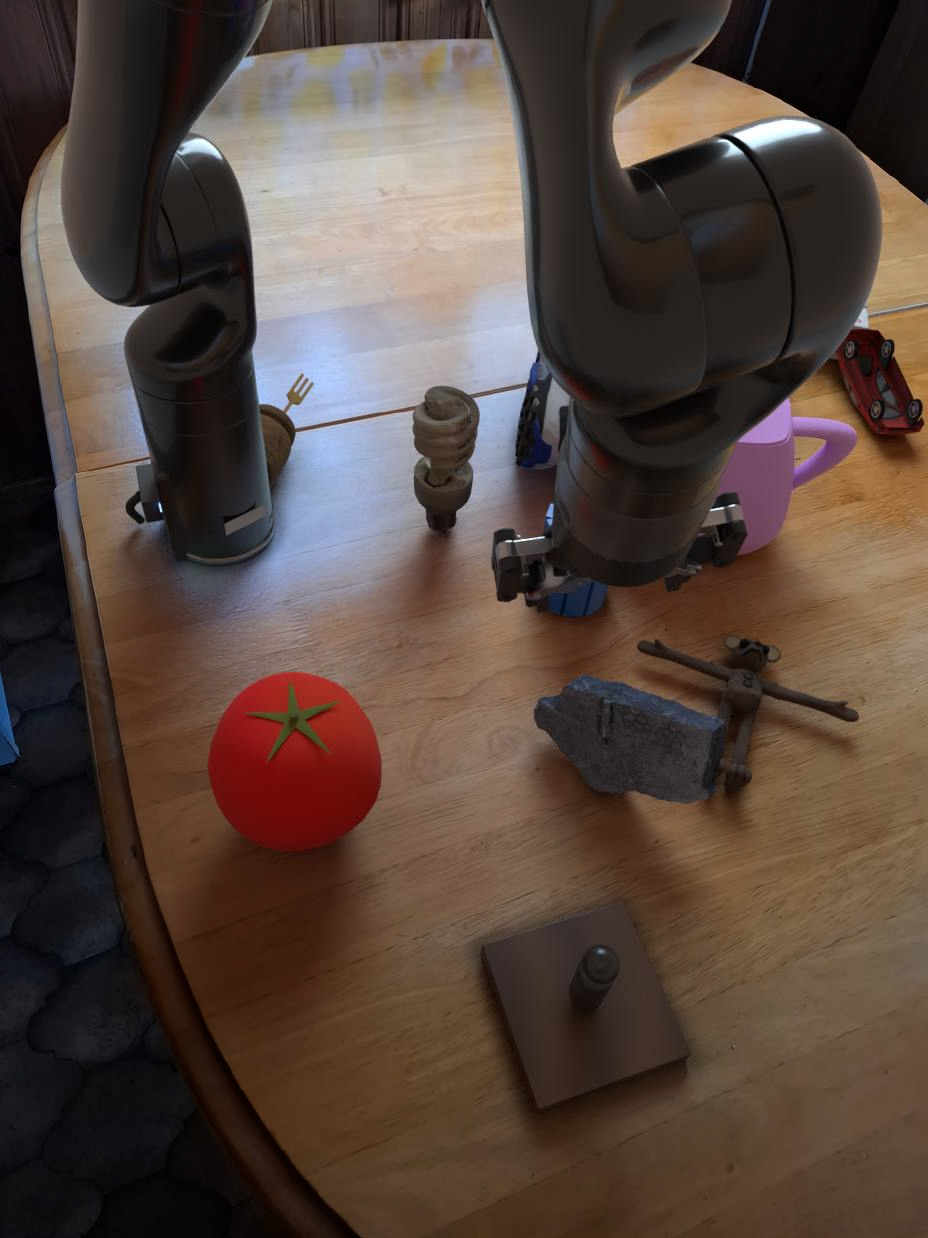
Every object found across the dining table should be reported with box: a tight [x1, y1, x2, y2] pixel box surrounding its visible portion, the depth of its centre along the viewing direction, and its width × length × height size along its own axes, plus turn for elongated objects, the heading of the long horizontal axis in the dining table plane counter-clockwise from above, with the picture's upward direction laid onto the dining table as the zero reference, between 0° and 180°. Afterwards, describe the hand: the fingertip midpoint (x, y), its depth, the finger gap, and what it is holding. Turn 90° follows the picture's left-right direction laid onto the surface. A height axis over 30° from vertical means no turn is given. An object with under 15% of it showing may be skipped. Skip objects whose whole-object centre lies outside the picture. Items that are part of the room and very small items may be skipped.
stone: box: [533, 672, 727, 805], centre depth 65 cm, size 14×6×10 cm, turn 69°
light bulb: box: [412, 385, 481, 534], centre depth 79 cm, size 6×6×15 cm
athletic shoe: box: [514, 350, 570, 470], centre depth 92 cm, size 10×26×12 cm
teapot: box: [697, 397, 858, 556], centre depth 84 cm, size 23×21×15 cm
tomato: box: [207, 671, 383, 852], centre depth 60 cm, size 11×11×13 cm
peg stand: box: [480, 901, 692, 1115], centre depth 54 cm, size 10×10×8 cm
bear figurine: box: [636, 634, 860, 793], centre depth 72 cm, size 18×4×14 cm
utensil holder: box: [259, 373, 315, 488], centre depth 87 cm, size 6×6×12 cm
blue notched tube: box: [541, 500, 610, 618], centre depth 77 cm, size 6×7×8 cm
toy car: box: [835, 329, 925, 436], centre depth 100 cm, size 6×15×5 cm, turn 10°
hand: (603, 587), depth 60 cm, fingers open, 8 cm apart
